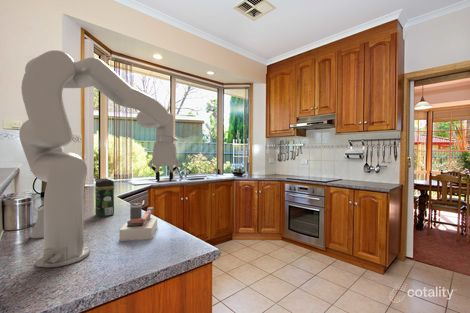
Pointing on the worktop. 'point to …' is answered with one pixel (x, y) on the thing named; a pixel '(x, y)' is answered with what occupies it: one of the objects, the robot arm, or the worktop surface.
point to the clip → (145, 217)
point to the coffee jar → (104, 197)
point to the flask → (38, 226)
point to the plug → (135, 214)
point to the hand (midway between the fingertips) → (164, 180)
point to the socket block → (139, 230)
